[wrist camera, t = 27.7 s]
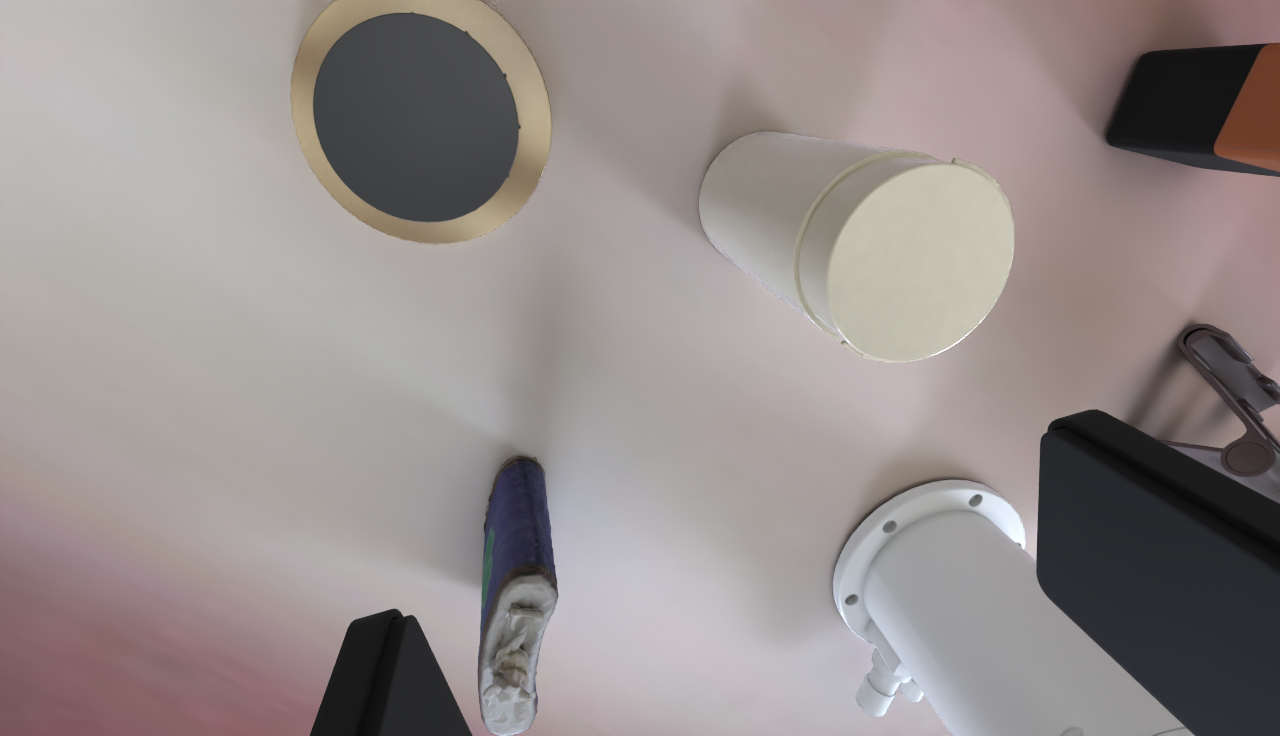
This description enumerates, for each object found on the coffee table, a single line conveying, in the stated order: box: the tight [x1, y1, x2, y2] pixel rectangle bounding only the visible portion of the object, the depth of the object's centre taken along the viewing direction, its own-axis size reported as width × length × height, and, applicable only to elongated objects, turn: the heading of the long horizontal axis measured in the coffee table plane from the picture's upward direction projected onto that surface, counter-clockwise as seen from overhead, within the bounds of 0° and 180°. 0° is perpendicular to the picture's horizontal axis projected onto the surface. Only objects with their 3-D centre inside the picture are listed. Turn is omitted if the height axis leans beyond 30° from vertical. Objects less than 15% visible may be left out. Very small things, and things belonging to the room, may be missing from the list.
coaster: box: [291, 0, 552, 244], centre depth 26 cm, size 10×10×1 cm
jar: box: [699, 131, 1015, 363], centre depth 24 cm, size 6×6×13 cm
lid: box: [313, 12, 521, 223], centre depth 25 cm, size 7×7×2 cm
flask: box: [478, 456, 558, 736], centre depth 30 cm, size 9×3×11 cm, turn 169°
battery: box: [1106, 43, 1280, 177], centre depth 28 cm, size 4×7×10 cm, turn 79°
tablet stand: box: [1159, 324, 1280, 504], centre depth 36 cm, size 9×8×8 cm
